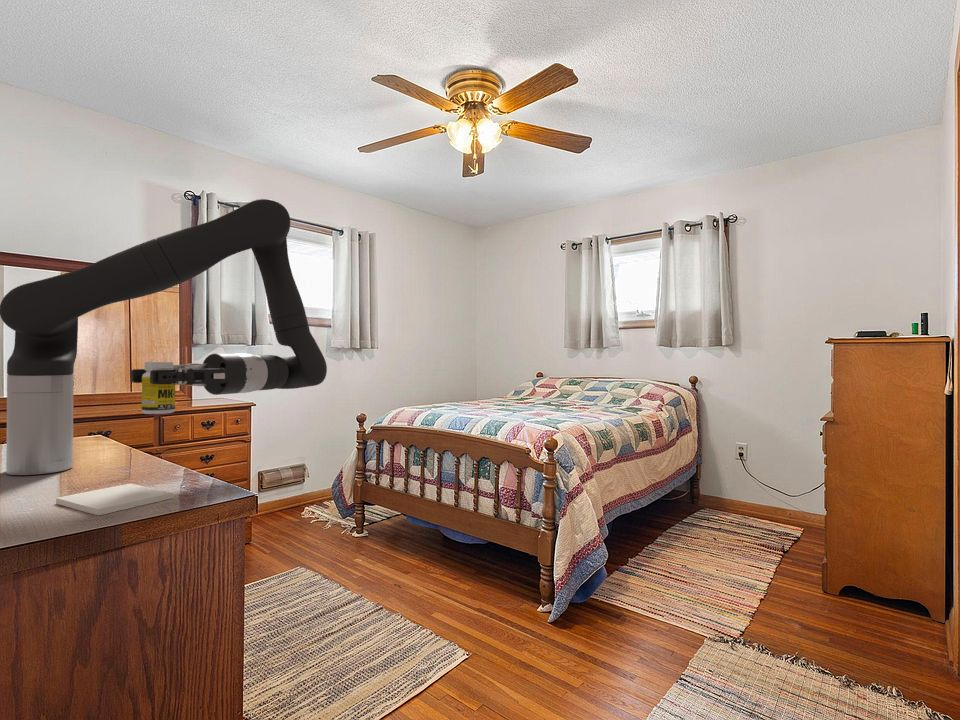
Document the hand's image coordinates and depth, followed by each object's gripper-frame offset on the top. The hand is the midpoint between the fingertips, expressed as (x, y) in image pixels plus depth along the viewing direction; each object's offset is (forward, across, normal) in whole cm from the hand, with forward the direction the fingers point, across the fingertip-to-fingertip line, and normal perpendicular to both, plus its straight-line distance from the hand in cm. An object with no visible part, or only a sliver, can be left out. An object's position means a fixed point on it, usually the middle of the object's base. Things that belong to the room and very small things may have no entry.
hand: (142, 376), depth 85 cm
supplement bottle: (-3, 0, +6) cm, 7 cm away
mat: (+7, +5, +18) cm, 19 cm away
